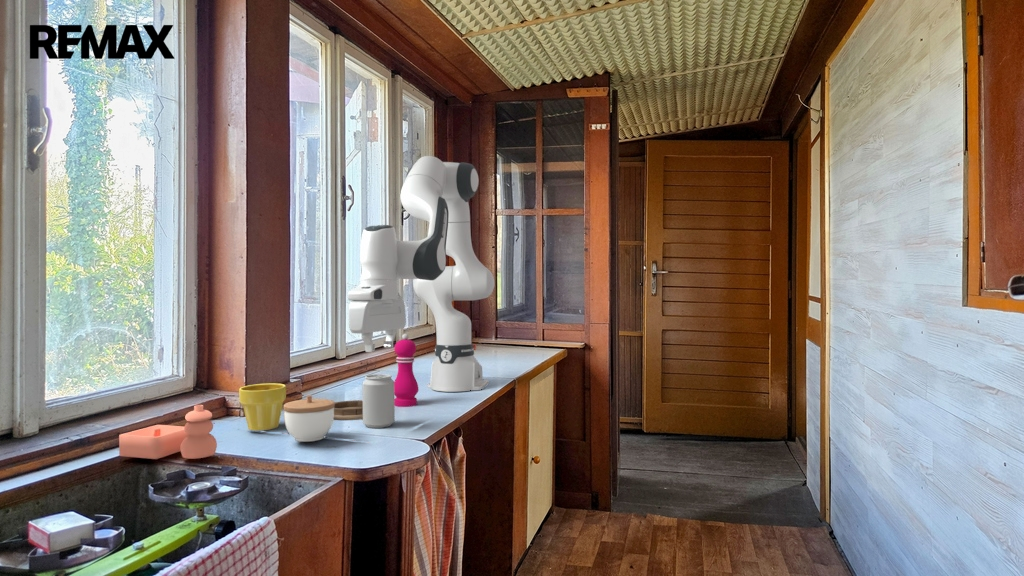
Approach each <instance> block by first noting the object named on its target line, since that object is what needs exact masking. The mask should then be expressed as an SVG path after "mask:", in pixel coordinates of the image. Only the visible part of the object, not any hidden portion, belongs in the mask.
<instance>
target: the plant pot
mask: <svg viewBox="0 0 1024 576" xmlns="http://www.w3.org/2000/svg"><path fill="white" fill-rule="evenodd" d="M286 386H287V385H285V384H283V383H274V382H273V383H257V384H249V385H245V386H241V387H240V388H239V389H238V394H239V395H238V397H239V400H238V401H239V403H240V404H241V405H242V407H243V412H244V416H245V420H246V424H247V425H246V426H247V428H248V430H250V431H251V432H252V431H254V432H255V431H256V432H258V431H259V432H262V431H269V430H275V429H277V428H278V427H279V426H280V425H279V424H280V422H281V421H280V420H281V414H282V409H283V406H284V401H285V400H286V399H287V387H286Z"/></svg>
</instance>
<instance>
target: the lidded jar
mask: <svg viewBox="0 0 1024 576" xmlns="http://www.w3.org/2000/svg"><path fill="white" fill-rule="evenodd" d="M334 407H335V401H334V400H331V399H326V398H313V396H312V395H306V399H299V400H293V401H289V402H285V403H283V405H282V409H283V415H284V416H283V417H284V418H283V419H284V424H285V428H286V430H287V432H288V433H289V435H291V437H293V438H294V440H295V442H296V441H297V442H302V443H303V442H304V443H305V442H315V441H316V442H317V441H320V440H323V439H324V438H325V436H326V435H327V434H328V433H329V432H330V430H331V428H332V426H333V423H334V420H333V419H334Z"/></svg>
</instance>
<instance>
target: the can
mask: <svg viewBox="0 0 1024 576" xmlns="http://www.w3.org/2000/svg"><path fill="white" fill-rule="evenodd" d="M364 378H365V379H364V380H363V382H362V401H363V419H362V423H363V425H365V426H366V427H367V428H370V429H371V428H372V429H382V428H384V429H385V428H387V427H391V425H392V424H394V422H396V421H395V420H396V419H395V417H396V416H395V415H396V413H395V411H396V409H395V407H396V406H395V405H394V399H395V395H394V381H395V380H393V379H392V375H391V374H386V373H380V374H379V373H377V374H368V375H365V377H364Z"/></svg>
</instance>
